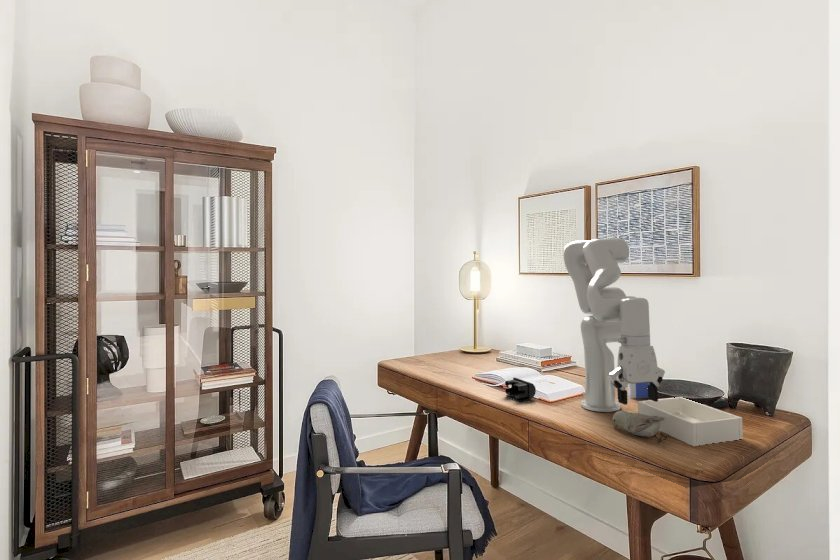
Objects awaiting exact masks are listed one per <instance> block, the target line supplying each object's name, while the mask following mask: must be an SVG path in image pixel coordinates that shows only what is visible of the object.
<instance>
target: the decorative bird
mask: <svg viewBox="0 0 840 560" xmlns="http://www.w3.org/2000/svg"><path fill="white" fill-rule="evenodd" d="M663 418H664V417H658V416H648V415H644V414H640V413H638V412H632V411H631V412H628V411H625V410H618V411H615V413H613V415H612V419H611V420H612V427H613V428H614V429H617V428H621V427H622V428H623V429H624V430H626V431H627V432H628V433H630V434H632V435H636V436H639V437H653V436H654V438H655V439H657V441H656V443H655V444H656V445H659V443H660V444H661V443H662V442H664V443H665V441H668V440H667V439H668V434H666V435H663V432H662V431H660V430H659V427H660V421H662V420H664V419H663ZM656 433H659V434H660V435H661V436H660V437H657V435H656ZM662 437H663V439H662ZM661 441H662V442H661Z"/></svg>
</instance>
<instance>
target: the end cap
mask: <svg viewBox="0 0 840 560" xmlns="http://www.w3.org/2000/svg"><path fill="white" fill-rule="evenodd" d="M504 386H511V387H508V388H505V389H504V390H505V397H506V396H508V397H510V398H512V399H511V400H513V399H514V400H513V401H515V400H516V402H517V401H518V403H523V402H524V401H525V402H528V401H531V400H532V399H533V398H534V397H535V395H536V392H537V391H536V385H534V384H533V383H532V382H530V381H526V380H523V379H521V378H518V377H513V378H512V379H510V380H505V381H504ZM508 397H507V398H508ZM510 398H509V399H510Z"/></svg>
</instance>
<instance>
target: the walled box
mask: <svg viewBox="0 0 840 560" xmlns="http://www.w3.org/2000/svg"><path fill="white" fill-rule="evenodd" d="M674 397H675V396H674ZM674 397H666V398H658V401H657V402H655V401H652V400H649V399H648V400H640V401H637V413H640V414H644V415H648V416H658V417H664V418H663V419H664V420H662V421H660V427H659V431H660V432H661V433H664V434H666V435H667V434H668V435H669V436H671V437H673V438H674V439H677V440H679V441H681V442H683V443H685V444H688V445H689V446H692V447H698V446H699V445H700V446H706V445H705V444H708V445H713V444H712V443H715V444H720V443H719V442H723V443H725V442H724V441H730V442H733V441H732V440H738V441H740V440H739V439H744V437H743V435H744V434H743V433H744V432H743V417H742V416H738V415H735V414H733V413H729V412H726V411H723V410H721V409H719V408H712V407H709V406H706V405H703V404H701V403H698V402H695V401H692V400H689V399H686V398H683V397H678V396H676V397H675V398H674ZM668 435H667V436H668ZM700 446H699V447H700Z"/></svg>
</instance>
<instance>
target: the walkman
mask: <svg viewBox="0 0 840 560" xmlns="http://www.w3.org/2000/svg"><path fill="white" fill-rule="evenodd" d="M648 385H650V384H649V383H648V382H646V383H634V384H631V383H629V384H628V385H627V398H629V399H646V398H647V399H648V389H647V388H648Z"/></svg>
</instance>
